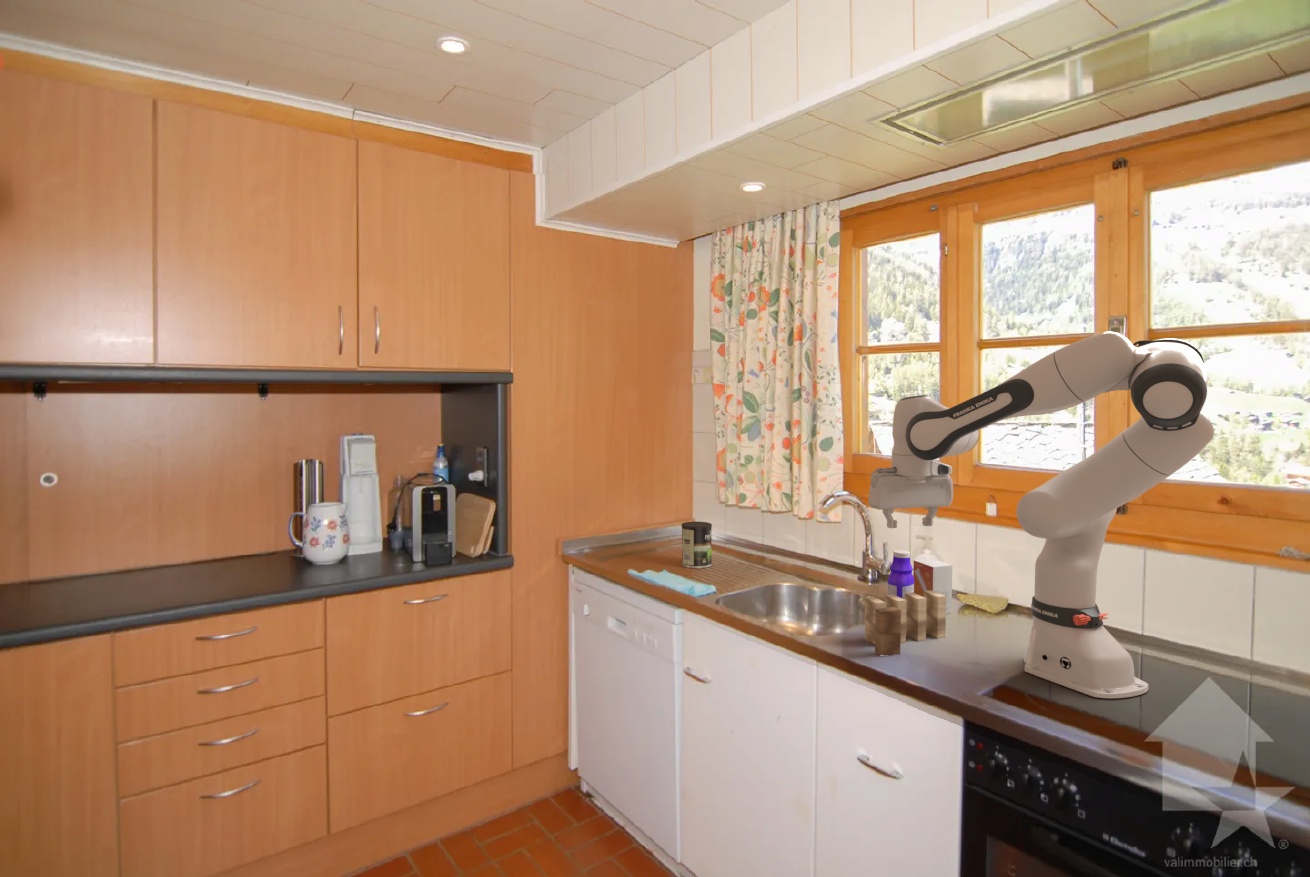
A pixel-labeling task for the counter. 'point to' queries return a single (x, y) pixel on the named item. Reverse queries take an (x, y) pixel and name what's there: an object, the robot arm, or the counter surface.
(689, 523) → the coffee can
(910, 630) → the domino
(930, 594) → the domino
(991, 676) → the counter surface
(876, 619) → the domino
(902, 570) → the bottle
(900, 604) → the domino
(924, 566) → the small box
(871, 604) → the domino
